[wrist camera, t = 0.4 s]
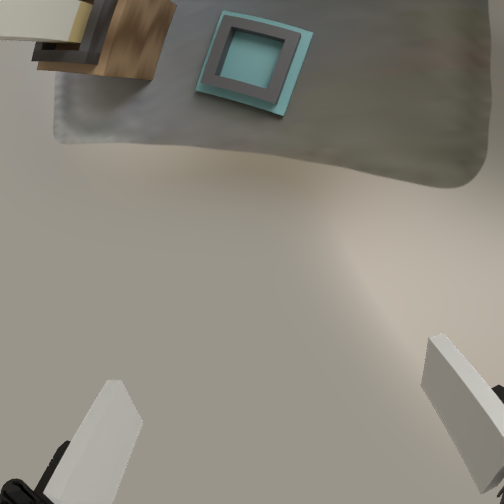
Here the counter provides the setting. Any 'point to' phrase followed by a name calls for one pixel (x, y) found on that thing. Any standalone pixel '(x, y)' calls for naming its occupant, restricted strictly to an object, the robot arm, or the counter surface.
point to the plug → (44, 20)
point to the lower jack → (254, 61)
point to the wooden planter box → (113, 40)
